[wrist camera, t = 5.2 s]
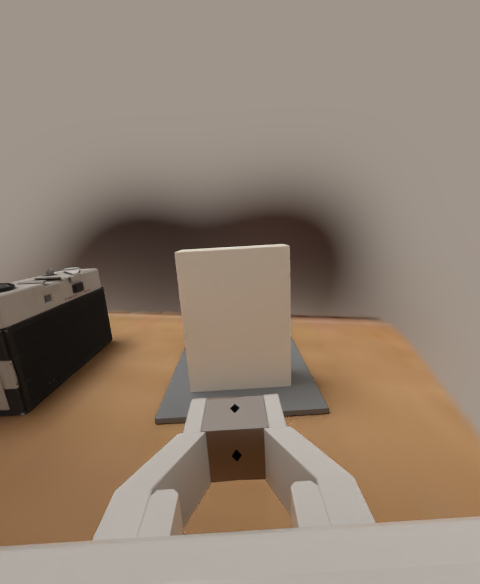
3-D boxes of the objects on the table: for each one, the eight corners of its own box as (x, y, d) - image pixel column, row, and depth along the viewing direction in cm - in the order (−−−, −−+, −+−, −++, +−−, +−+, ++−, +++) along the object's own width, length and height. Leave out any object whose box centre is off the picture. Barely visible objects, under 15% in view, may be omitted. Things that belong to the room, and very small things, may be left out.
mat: (155, 423, 18) (154, 418, 18) (194, 327, 35) (194, 325, 35) (328, 413, 18) (328, 408, 18) (282, 322, 35) (282, 319, 35)
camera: (60, 339, 34) (45, 262, 31) (125, 342, 33) (115, 263, 30) (-79, 413, 21) (-125, 290, 18) (22, 423, 19) (-13, 293, 17)
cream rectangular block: (190, 392, 21) (174, 252, 18) (195, 374, 23) (181, 249, 20) (291, 386, 21) (289, 245, 18) (285, 369, 23) (283, 244, 20)
